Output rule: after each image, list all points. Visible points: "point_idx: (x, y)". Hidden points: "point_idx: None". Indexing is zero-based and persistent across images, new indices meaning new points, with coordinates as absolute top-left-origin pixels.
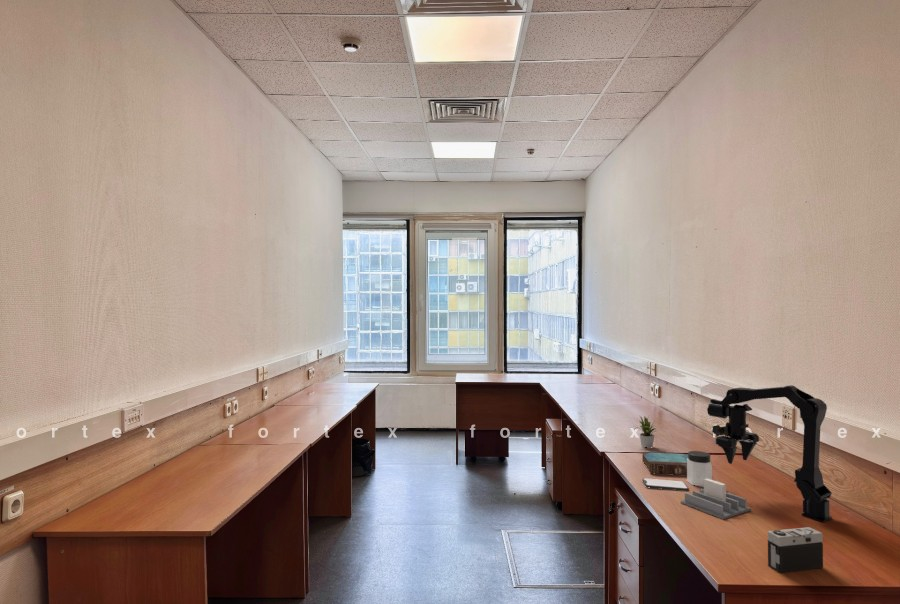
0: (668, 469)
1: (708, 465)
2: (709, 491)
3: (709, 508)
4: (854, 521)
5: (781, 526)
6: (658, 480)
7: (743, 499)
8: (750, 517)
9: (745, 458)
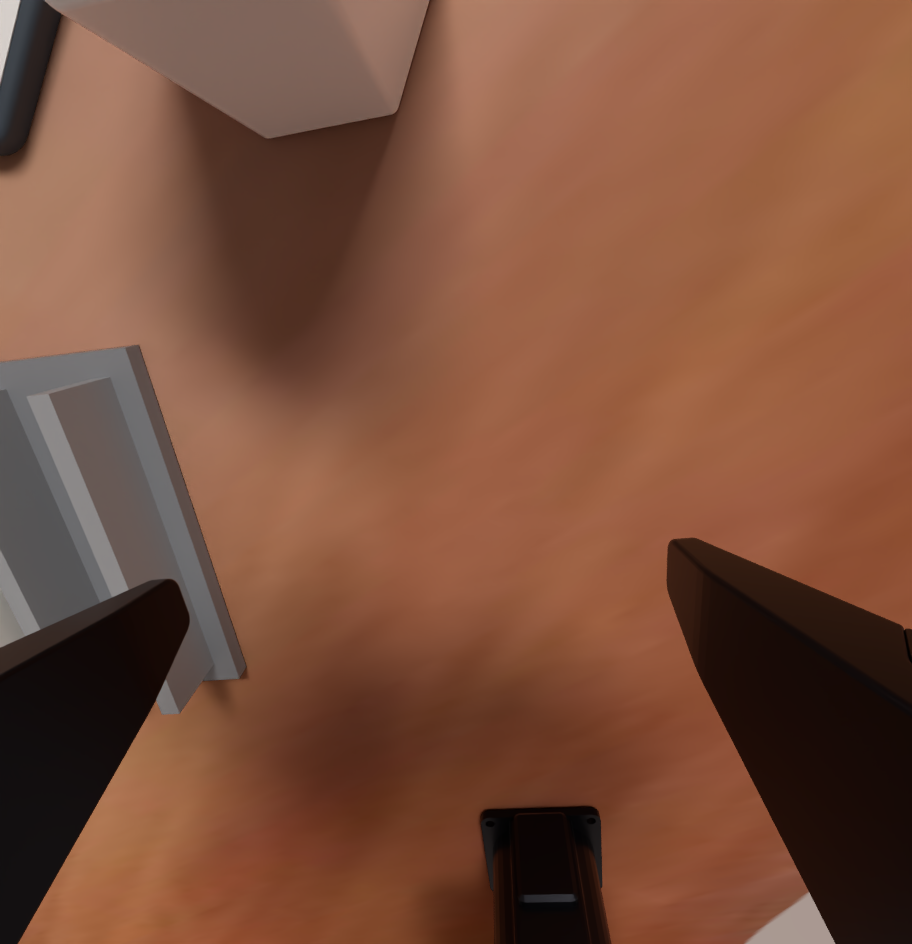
0: None
1: (213, 9)
2: None
3: None
4: (666, 924)
5: (233, 833)
6: None
7: (161, 701)
8: (156, 722)
9: (683, 607)
